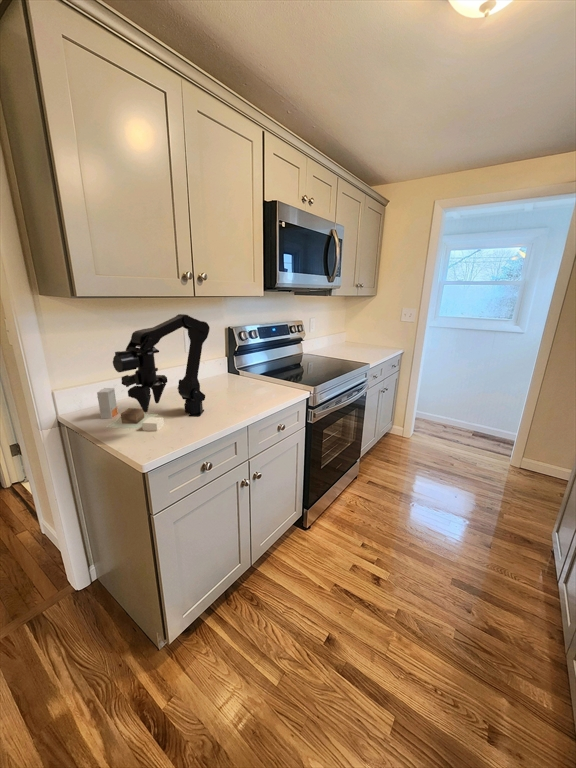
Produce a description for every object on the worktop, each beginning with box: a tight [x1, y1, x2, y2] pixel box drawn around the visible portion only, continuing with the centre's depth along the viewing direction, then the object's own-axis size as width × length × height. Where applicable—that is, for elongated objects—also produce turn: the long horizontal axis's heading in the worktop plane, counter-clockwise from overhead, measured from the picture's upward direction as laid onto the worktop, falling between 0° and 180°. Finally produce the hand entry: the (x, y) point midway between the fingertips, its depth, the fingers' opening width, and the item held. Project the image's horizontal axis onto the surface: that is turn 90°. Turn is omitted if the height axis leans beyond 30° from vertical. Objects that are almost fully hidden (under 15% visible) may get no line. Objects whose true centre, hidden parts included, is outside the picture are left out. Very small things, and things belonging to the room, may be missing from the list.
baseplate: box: [106, 413, 159, 429], centre depth 125 cm, size 14×14×1 cm
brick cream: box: [142, 416, 165, 432], centre depth 119 cm, size 6×6×4 cm
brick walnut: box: [120, 407, 145, 424], centre depth 125 cm, size 6×6×4 cm
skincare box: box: [96, 387, 119, 420], centre depth 128 cm, size 6×4×12 cm
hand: (151, 407), depth 117 cm, fingers open, 9 cm apart
